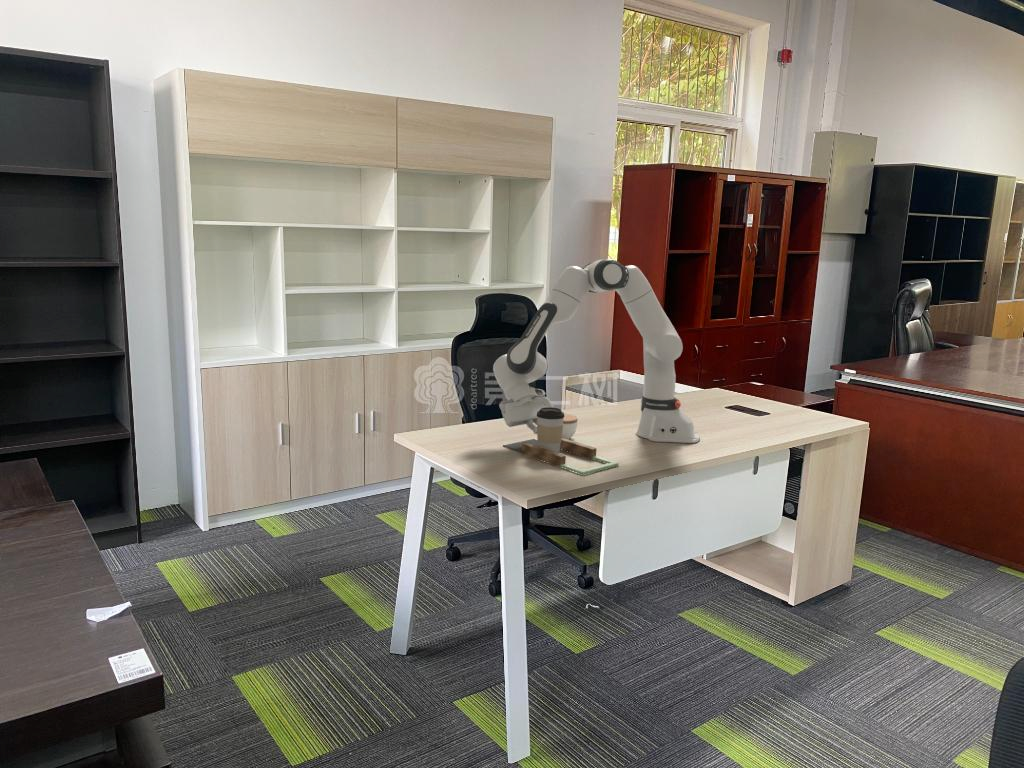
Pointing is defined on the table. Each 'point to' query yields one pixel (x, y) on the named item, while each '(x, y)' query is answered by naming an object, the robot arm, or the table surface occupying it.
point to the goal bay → (594, 469)
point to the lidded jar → (569, 426)
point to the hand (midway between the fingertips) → (539, 432)
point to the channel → (556, 457)
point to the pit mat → (518, 445)
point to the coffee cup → (550, 428)
